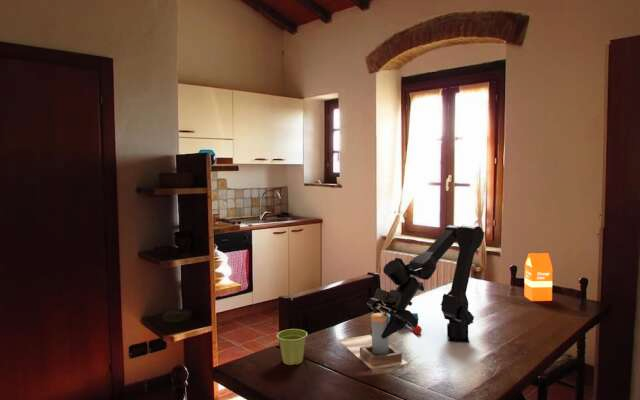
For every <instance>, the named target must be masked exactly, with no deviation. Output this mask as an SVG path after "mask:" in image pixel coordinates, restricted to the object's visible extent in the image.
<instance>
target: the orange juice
mask: <svg viewBox="0 0 640 400" xmlns="http://www.w3.org/2000/svg"><path fill="white" fill-rule="evenodd" d="M551 261H552V260H551V259H550V254H549V252H547V253H546V252H543V253H542V252H541V253H538V252H537V253H531V252H530V253H528V255H527V258H526V260H525V263H524V297H525V298H527V299H528V300H530V301H531V302H545V301H546V302H547V301H549V302H550V301H553V266H552V262H551Z"/></svg>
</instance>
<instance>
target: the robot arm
mask: <svg viewBox="0 0 640 400" xmlns="http://www.w3.org/2000/svg"><path fill="white" fill-rule="evenodd" d="M484 238H485V232H484V231H483V228H482V227H481V226H478V225H470V224H463V225H461V226H459V225H458V226H456V225H450V224H449V225H447V226H445V228H444V231H442V233H441V234H440V235H438V237H437V238H436V239H435V240H434V241H433V243H432V244H431V245H430V246H429V247H428V248H427V250H425V251H424V252H423V253H420V254H418V255H416V256H415V257H414V258H412V259H411V260H410V261H409V262H408V263H404V260H403V259H402V258H401V257H397V256H395V258H394V259H393V260H390V261H389V262H387V263H385V265H384V267H383V274H384V275H385V276H386V277H387V278H388V279H389V280H390V281H391V282H392V283H393V284H394V285H396V288H395V289H391V290H389V291H387V290H384V289H381V288H376V291H375V294H374V297H369V299H368V301H367V302H366V304H367V305H368V306H369V308H371V309H372V310H373V314H374V313H385V314H387V315H390V321H389V323H388V325H387V327H386V328H385V330H384V332H383V334H382V336H381V337H382V338H383V339H384V338H386V337H388V338H389V336H391V335H393V334H394V333H396V332H399V331H400V330H403V329H407V328H410V327H411V328H414V329H415V328H416V326H417V325H419V320H418V319H419V318H418V319H417V318H416V317H415V316H414V315H413V314H412V312H411V310H407V307H408V306H410V307H411V306H412V305H413V302H412V300H413V298H414V296H415V295H416V293H417V292H418V291H421V292H424V291H425V286H424V282H422V281H419V280H418V279H420V280H424V281H425V280H430V278H432V276H433V274H434V272H435V271H436V270H437V264H438V262H439V260H440V259H441V258H442V257H443V256H444V255H445V254H446V252H448V250H449V249H450V248H451V247H452V246H453V244H454V243H456V242H457V245H458V248H459V251H458V255H457V261H456V265H455V269H454V274H453V279H452V283H451V287H450V290H449V291H448V292H447V293H444V294H443V295H442V298H441V299H442V300H441V303H440V306H441V312H442V314H443V317H444V320H448V323H447V325H446V327H447V328H446V331H447V333H446V337H447V338H448V341H449V342H463V343H470V342H469V341H470V338H469V326H471V324H474V319H475V316H474V315H473V314H472V313H471V312H470V311H469V300H468V298H467V289H468V284H469V281H470V280H469V279H470V277H471V276H470V275H471V271H472V267H473V261H474V258H475V252H477V251H478V249H479V248H481V246H482V243H483V241H484ZM407 323H408V326H409V327H408V326H407V325H406V324H407ZM411 328H410V329H411ZM370 333H371V334H372V326H371V327H370Z"/></svg>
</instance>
